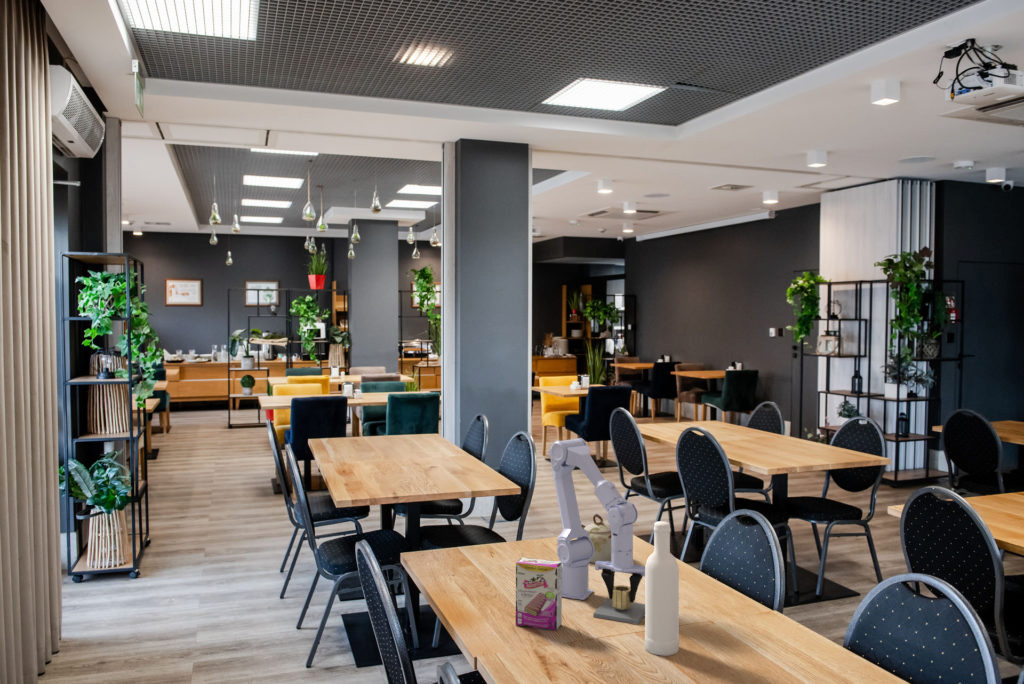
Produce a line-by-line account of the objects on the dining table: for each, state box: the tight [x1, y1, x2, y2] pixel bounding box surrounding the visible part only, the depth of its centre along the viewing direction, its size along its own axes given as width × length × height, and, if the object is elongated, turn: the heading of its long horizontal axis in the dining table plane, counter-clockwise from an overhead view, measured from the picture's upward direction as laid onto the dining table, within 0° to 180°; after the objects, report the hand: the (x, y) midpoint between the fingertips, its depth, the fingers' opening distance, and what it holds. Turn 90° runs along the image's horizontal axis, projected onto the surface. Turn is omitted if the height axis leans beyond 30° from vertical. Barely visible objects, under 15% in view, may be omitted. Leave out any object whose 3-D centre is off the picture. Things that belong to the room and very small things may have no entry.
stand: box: [592, 597, 645, 625], centre depth 199 cm, size 12×12×6 cm
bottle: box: [644, 520, 680, 657], centre depth 177 cm, size 8×8×30 cm
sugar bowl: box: [575, 513, 611, 564], centre depth 245 cm, size 20×15×15 cm
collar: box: [612, 584, 632, 609], centre depth 199 cm, size 5×5×4 cm
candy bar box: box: [515, 557, 563, 632], centre depth 191 cm, size 11×5×16 cm, turn 71°
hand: (622, 599), depth 199 cm, fingers closed on collar, 5 cm apart
